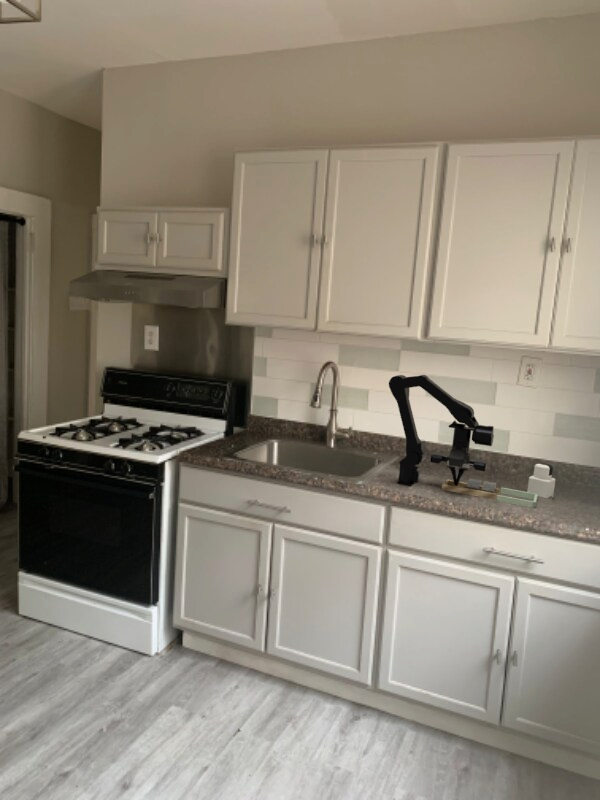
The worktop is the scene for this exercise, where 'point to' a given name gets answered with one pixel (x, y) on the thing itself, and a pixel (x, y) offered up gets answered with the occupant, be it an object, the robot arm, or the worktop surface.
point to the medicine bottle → (542, 481)
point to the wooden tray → (463, 489)
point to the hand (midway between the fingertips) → (456, 485)
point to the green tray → (515, 500)
